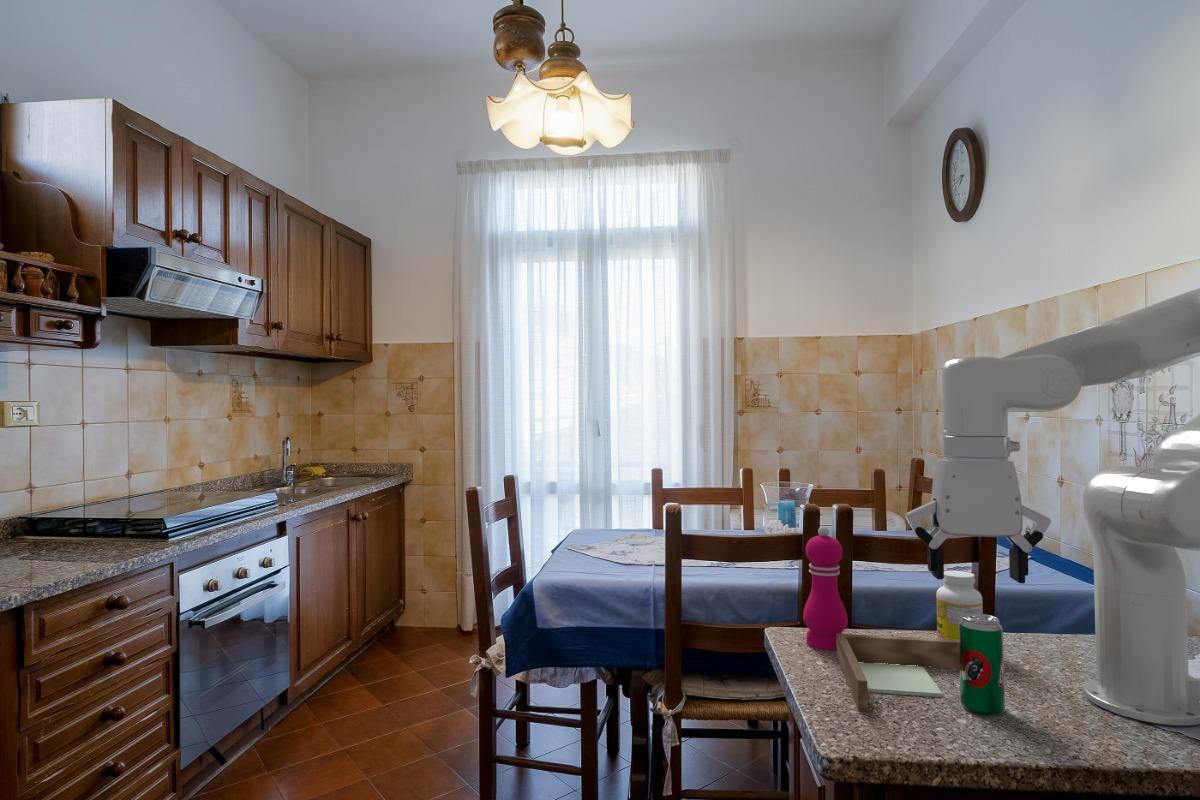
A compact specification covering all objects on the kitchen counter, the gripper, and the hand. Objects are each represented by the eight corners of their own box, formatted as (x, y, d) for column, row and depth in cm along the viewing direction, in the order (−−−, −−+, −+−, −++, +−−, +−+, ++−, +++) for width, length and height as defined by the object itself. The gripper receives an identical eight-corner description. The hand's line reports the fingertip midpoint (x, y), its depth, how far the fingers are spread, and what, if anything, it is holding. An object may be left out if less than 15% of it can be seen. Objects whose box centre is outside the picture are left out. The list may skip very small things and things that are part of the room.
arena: (970, 666, 101) (969, 640, 101) (1023, 723, 82) (1022, 691, 83) (836, 658, 105) (836, 633, 105) (858, 711, 86) (857, 680, 87)
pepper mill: (796, 638, 115) (794, 523, 115) (836, 636, 116) (833, 522, 116) (814, 653, 108) (812, 530, 108) (856, 651, 108) (853, 529, 109)
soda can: (1011, 719, 84) (1009, 624, 84) (968, 716, 85) (965, 622, 85) (996, 702, 89) (993, 612, 89) (955, 699, 90) (953, 611, 90)
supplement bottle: (941, 642, 112) (939, 567, 112) (986, 650, 108) (983, 572, 108) (934, 654, 107) (932, 574, 107) (981, 663, 103) (979, 580, 103)
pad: (922, 669, 100) (922, 666, 100) (942, 697, 90) (942, 693, 90) (853, 665, 102) (853, 662, 102) (865, 691, 92) (865, 688, 93)
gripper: (1034, 449, 89) (1037, 575, 89) (898, 448, 93) (900, 569, 93) (1061, 452, 82) (1063, 589, 82) (912, 450, 86) (914, 582, 85)
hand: (976, 579), depth 87 cm, fingers open, 9 cm apart
